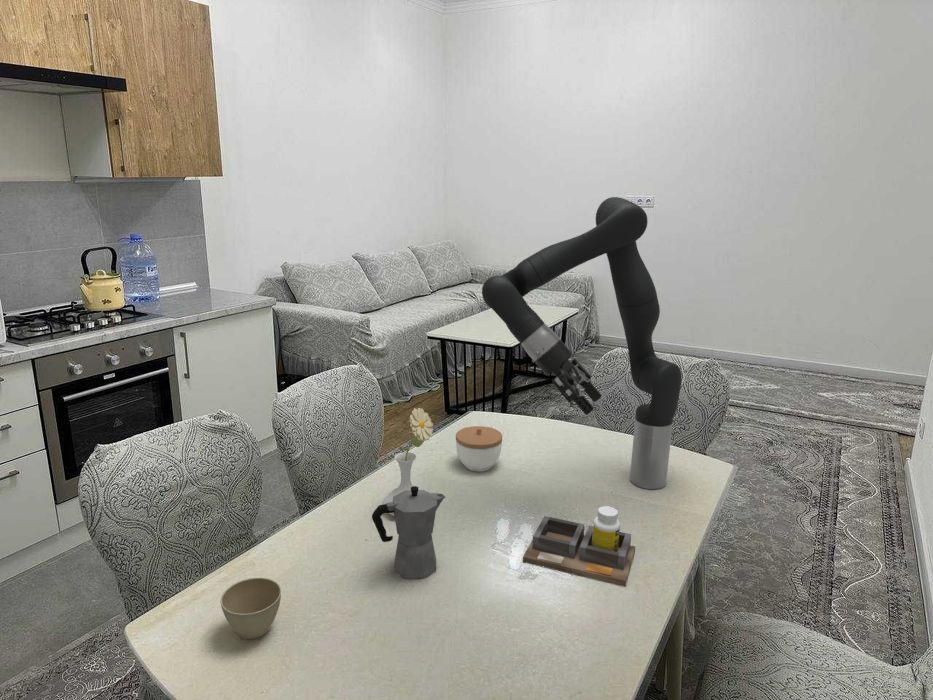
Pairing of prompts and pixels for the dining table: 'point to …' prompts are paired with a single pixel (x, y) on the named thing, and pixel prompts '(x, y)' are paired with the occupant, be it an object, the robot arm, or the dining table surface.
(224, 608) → the beige bowl
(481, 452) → the lidded bowl
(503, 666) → the dining table surface
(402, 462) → the flower in vase
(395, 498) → the coffeepot
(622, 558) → the socket board
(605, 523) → the supplement bottle
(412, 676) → the dining table surface
